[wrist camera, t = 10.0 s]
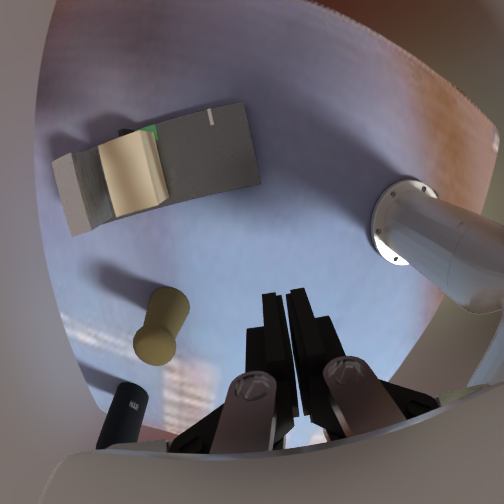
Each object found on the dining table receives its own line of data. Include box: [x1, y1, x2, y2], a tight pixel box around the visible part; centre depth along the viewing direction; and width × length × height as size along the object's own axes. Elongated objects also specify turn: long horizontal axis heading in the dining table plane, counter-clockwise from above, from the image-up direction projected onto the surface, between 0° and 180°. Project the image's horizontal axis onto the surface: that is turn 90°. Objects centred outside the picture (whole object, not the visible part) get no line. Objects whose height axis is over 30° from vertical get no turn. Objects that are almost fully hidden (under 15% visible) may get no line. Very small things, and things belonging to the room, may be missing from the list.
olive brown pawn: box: [133, 287, 190, 366], centre depth 34 cm, size 6×6×11 cm
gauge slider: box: [98, 129, 169, 217], centre depth 28 cm, size 5×9×5 cm, turn 12°
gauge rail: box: [52, 102, 261, 237], centre depth 29 cm, size 22×10×8 cm, turn 102°
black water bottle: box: [96, 382, 149, 450], centre depth 32 cm, size 6×6×30 cm
